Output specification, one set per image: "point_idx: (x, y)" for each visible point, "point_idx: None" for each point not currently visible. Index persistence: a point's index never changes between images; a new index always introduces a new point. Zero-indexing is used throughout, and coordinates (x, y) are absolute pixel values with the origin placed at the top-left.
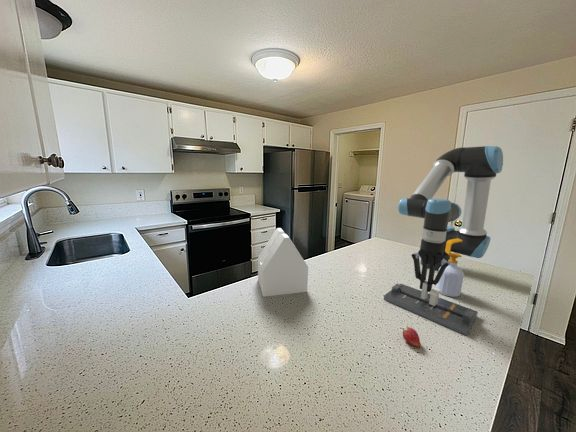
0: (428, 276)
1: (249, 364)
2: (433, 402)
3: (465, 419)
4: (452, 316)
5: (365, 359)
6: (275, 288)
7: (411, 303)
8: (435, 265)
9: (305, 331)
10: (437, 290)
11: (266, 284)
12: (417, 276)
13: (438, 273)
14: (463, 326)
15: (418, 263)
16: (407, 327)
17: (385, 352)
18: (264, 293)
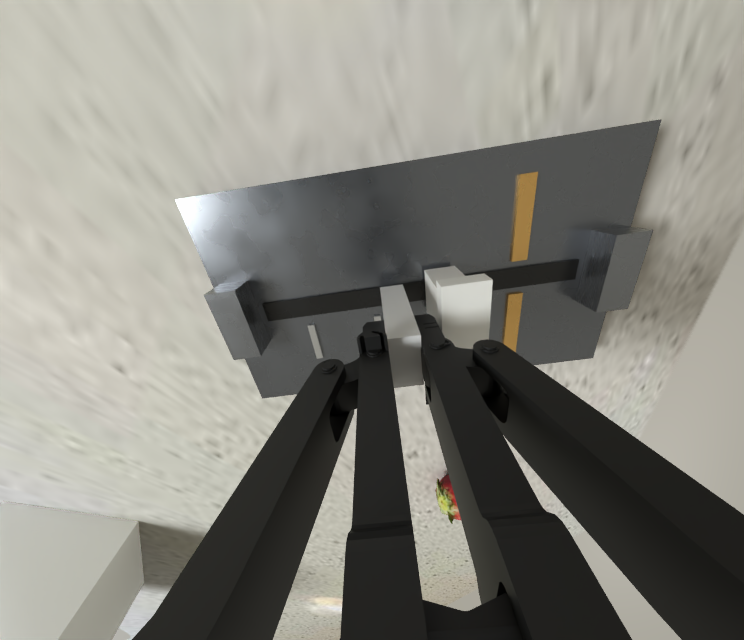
0: (439, 438)
1: (326, 621)
2: None
3: (574, 529)
4: (534, 312)
5: (416, 549)
6: (126, 595)
7: None
8: (562, 561)
9: (301, 573)
10: (475, 310)
11: (115, 627)
12: (340, 418)
13: (570, 499)
14: (579, 346)
15: (279, 549)
16: (452, 520)
17: (431, 523)
18: (137, 592)
